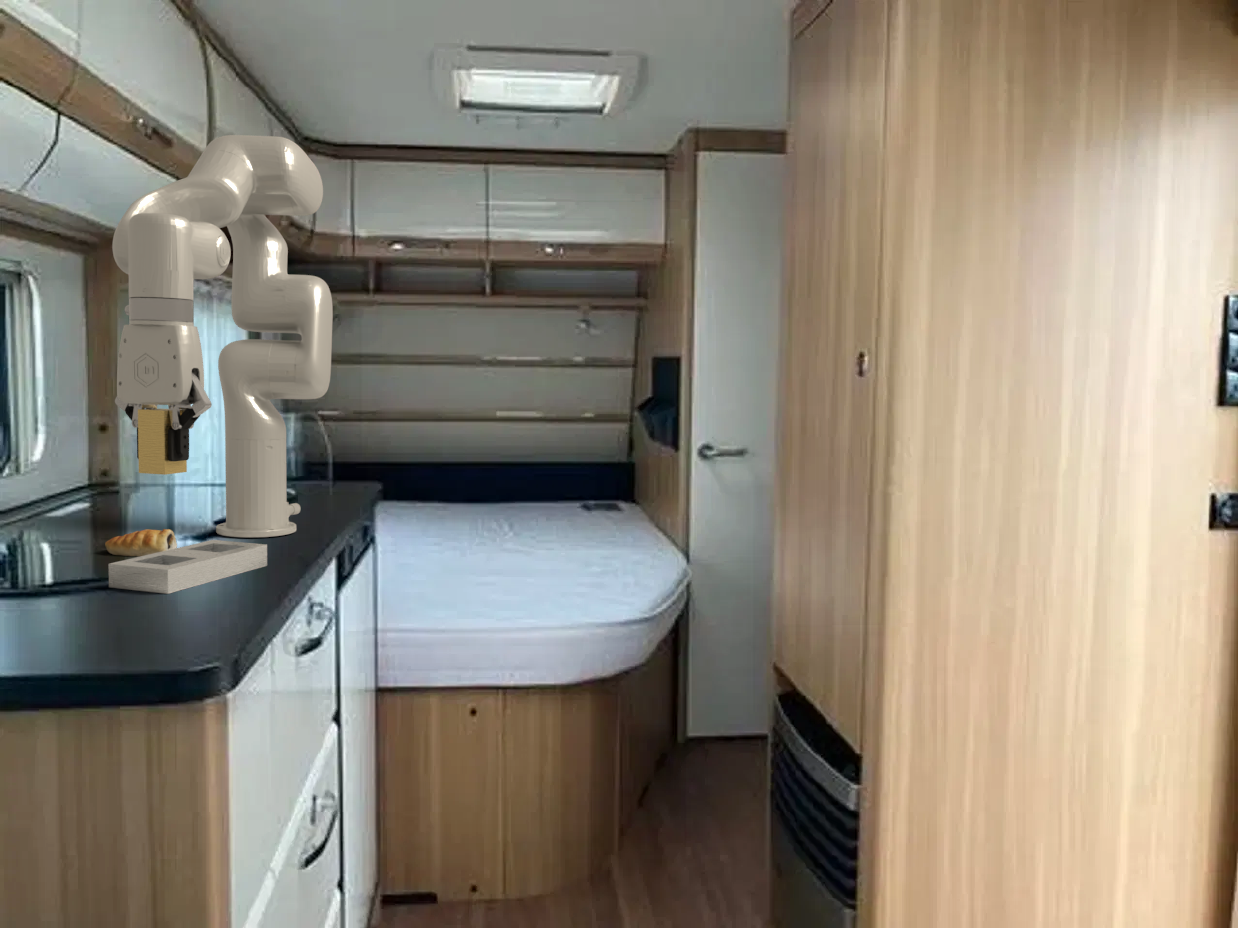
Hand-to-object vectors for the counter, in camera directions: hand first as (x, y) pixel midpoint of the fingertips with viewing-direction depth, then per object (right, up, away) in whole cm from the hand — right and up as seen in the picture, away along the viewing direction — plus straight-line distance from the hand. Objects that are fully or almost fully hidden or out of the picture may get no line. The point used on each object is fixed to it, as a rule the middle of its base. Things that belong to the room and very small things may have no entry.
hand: (163, 458), depth 141 cm
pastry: (-12, -14, +22) cm, 29 cm away
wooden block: (0, -2, 0) cm, 2 cm away
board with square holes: (+1, -16, +7) cm, 17 cm away
